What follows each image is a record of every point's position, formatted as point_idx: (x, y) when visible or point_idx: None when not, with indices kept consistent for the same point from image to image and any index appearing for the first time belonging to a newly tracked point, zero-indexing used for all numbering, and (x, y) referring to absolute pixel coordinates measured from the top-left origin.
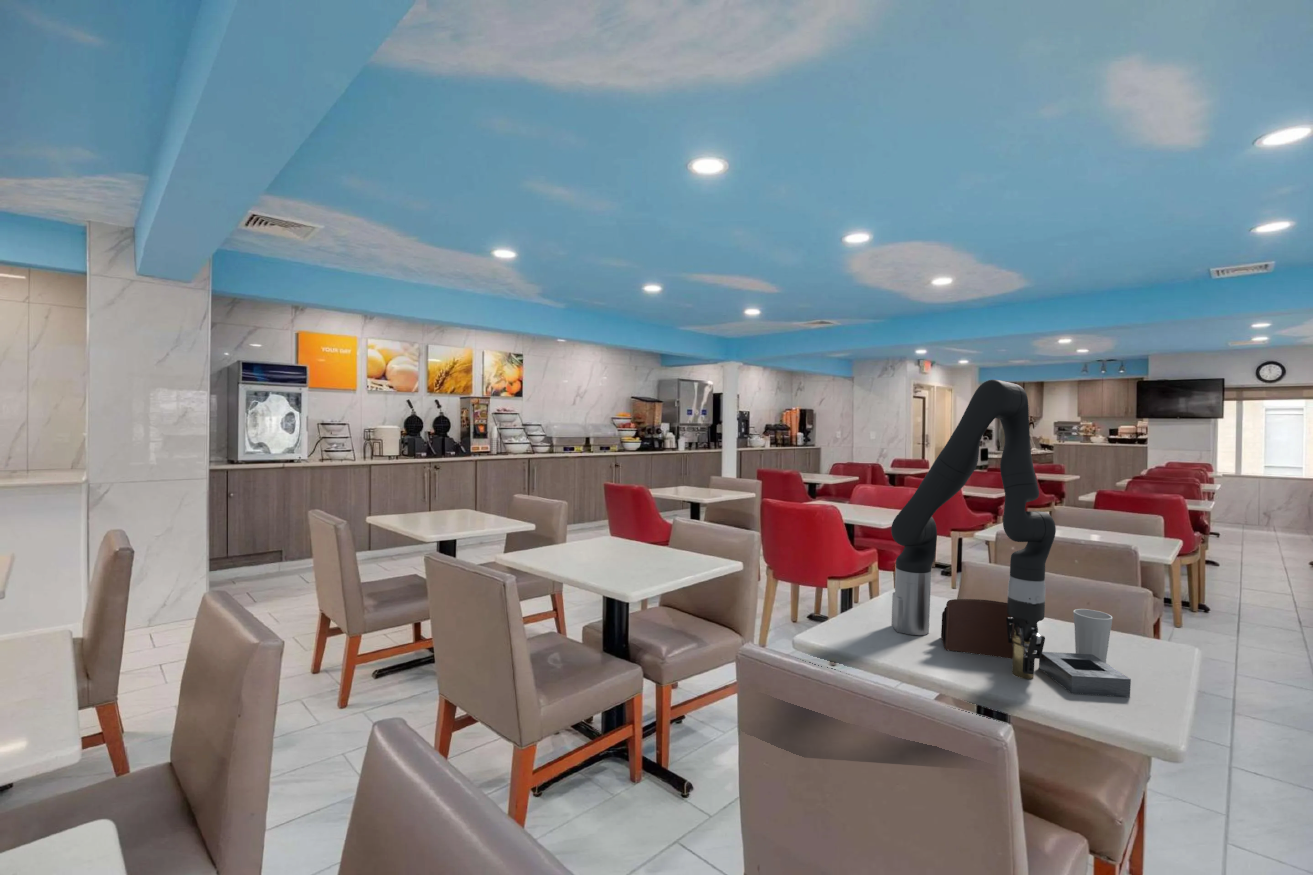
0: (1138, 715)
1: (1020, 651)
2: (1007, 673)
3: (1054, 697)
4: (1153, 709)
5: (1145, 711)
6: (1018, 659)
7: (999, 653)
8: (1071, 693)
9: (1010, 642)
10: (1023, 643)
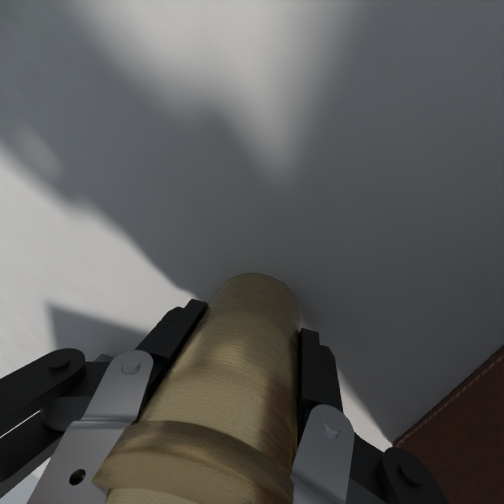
0: None
1: (169, 378)
2: (277, 257)
3: (59, 280)
4: None
5: None
6: (205, 329)
7: (501, 376)
8: (100, 355)
9: (382, 452)
10: (60, 456)
